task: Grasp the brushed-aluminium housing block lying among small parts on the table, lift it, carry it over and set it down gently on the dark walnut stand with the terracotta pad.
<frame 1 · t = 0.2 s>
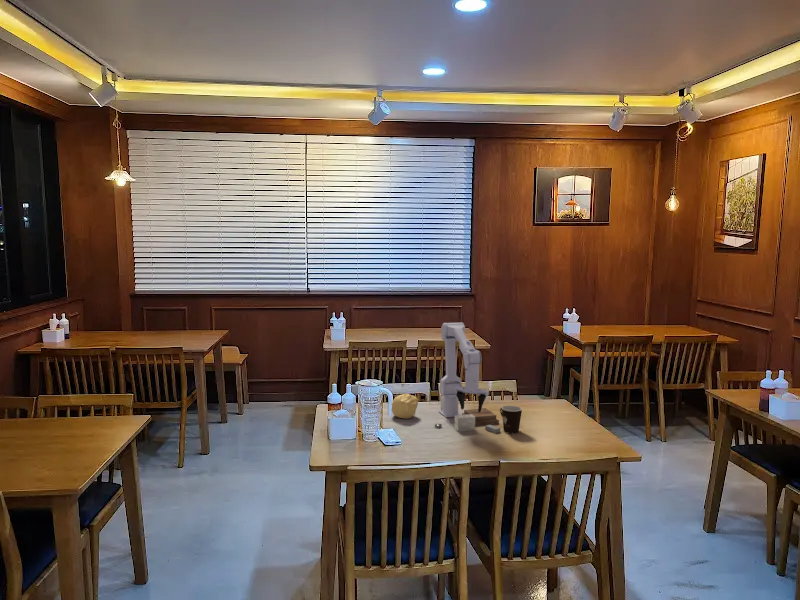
hand: (471, 410, 239), 10 cm above the table, tool pointing down, fingers open, 7 cm apart
grey offcut: (492, 431, 242), on the table
tan rounded lump: (404, 417, 260), on the table
stand: (479, 419, 256), on the table
steel nut: (438, 427, 246), on the table
coffee mug: (510, 430, 243), on the table
housing: (464, 429, 243), on the table
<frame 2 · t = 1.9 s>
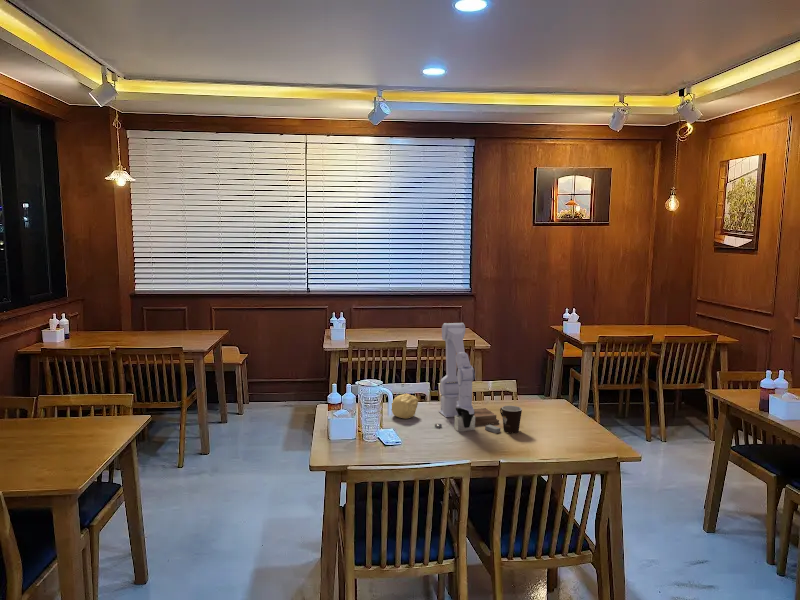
hand: (464, 425, 243), 2 cm above the table, tool pointing down, fingers closed on housing, 4 cm apart
housing: (464, 429, 243), on the table, touching gripper
everything else where it was.
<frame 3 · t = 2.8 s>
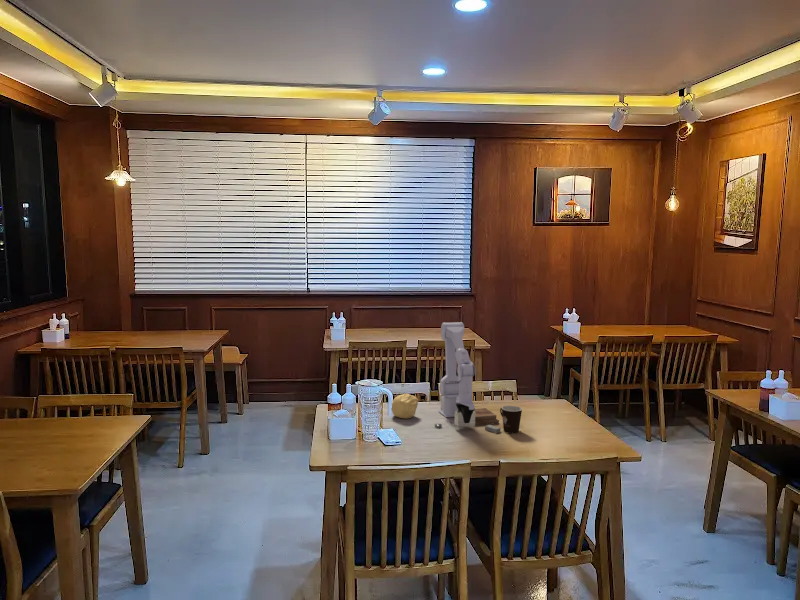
hand: (464, 421, 243), 4 cm above the table, tool pointing down, fingers closed on housing, 4 cm apart
housing: (464, 424, 243), point 2 cm above the table, touching gripper
everything else where it was.
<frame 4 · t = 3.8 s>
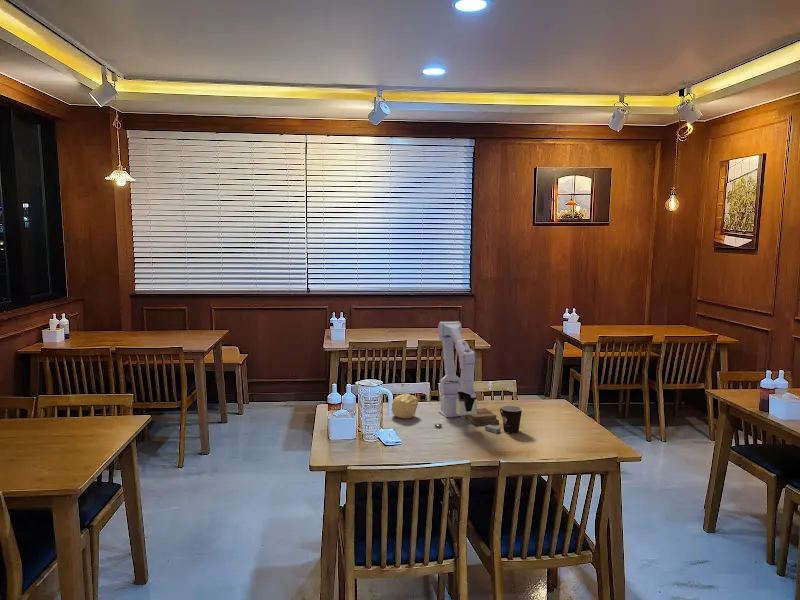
hand: (466, 409, 244), 8 cm above the table, tool pointing down, fingers closed on housing, 4 cm apart
housing: (466, 413, 244), point 7 cm above the table, touching gripper
everything else where it was.
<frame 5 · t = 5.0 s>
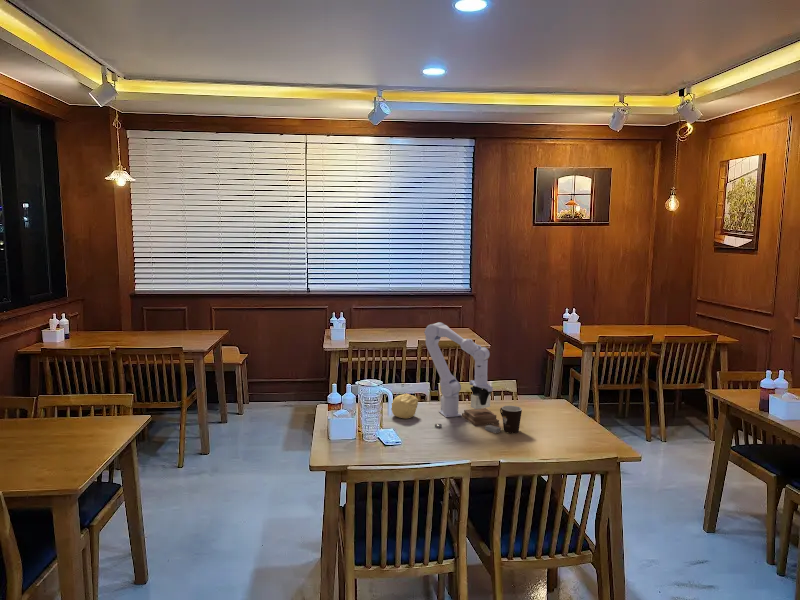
hand: (480, 403, 256), 8 cm above the table, tool pointing down, fingers closed on housing, 4 cm apart
housing: (480, 406, 256), point 6 cm above the table, touching gripper
everything else where it was.
when the fingers open (7 cm above the table, at t = 6.0 s): housing drops 1 cm, resting on stand.
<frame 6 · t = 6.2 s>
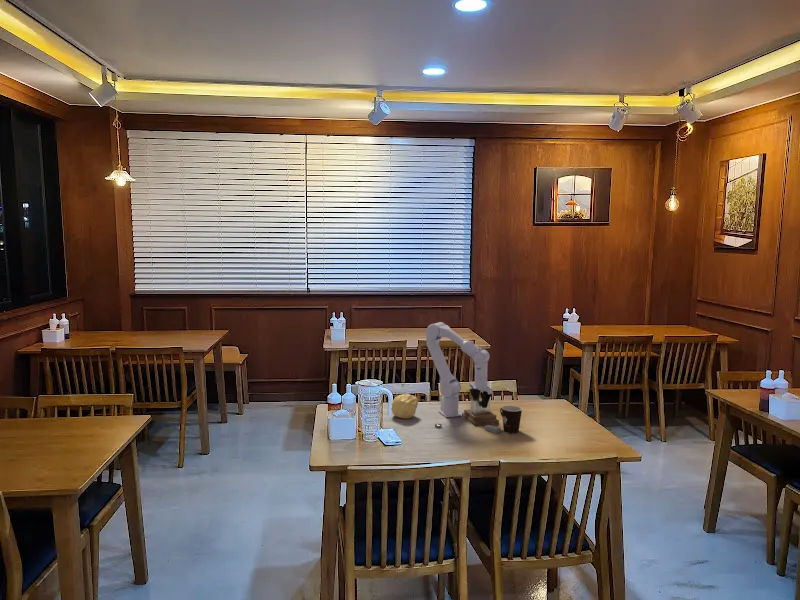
hand: (480, 405, 256), 7 cm above the table, tool pointing down, fingers open, 6 cm apart
housing: (480, 412, 256), point 3 cm above the table, touching stand
everything else where it was.
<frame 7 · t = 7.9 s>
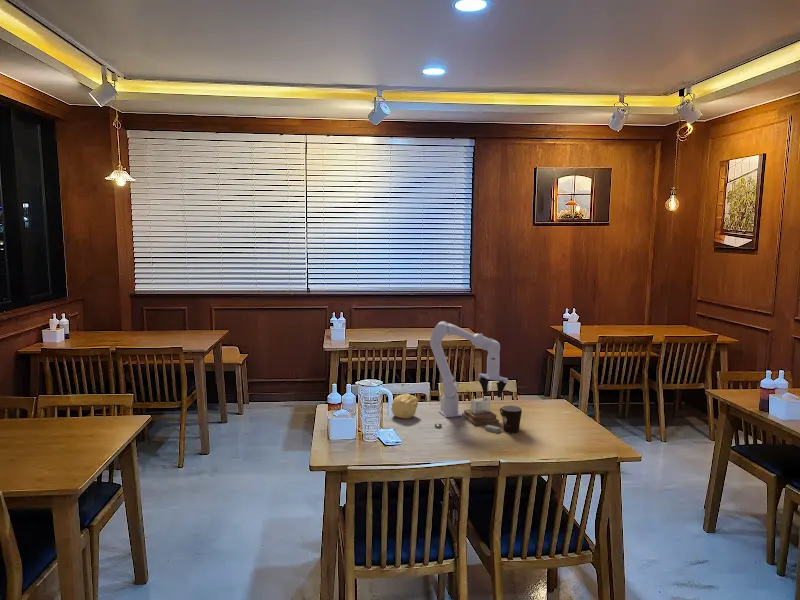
hand: (492, 395, 259), 10 cm above the table, tool pointing down, fingers open, 7 cm apart
nothing on the table moved.
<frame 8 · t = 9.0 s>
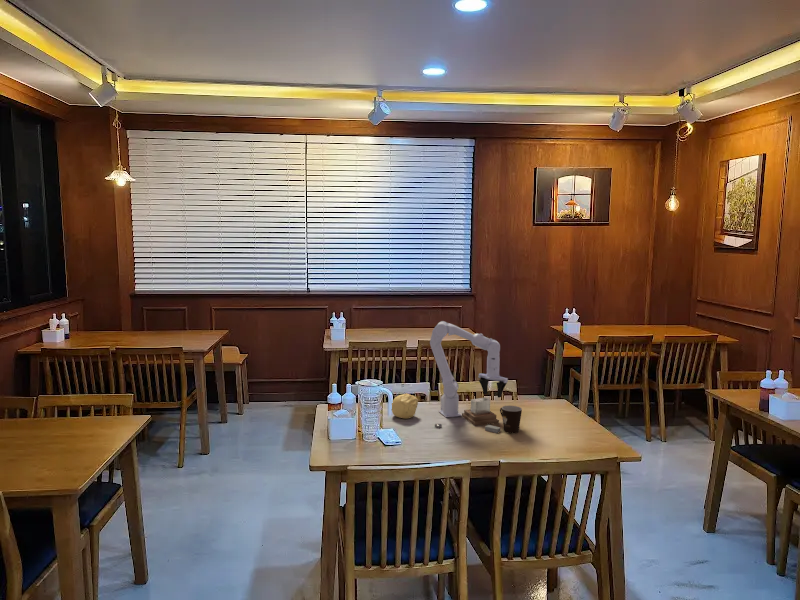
hand: (492, 395, 259), 10 cm above the table, tool pointing down, fingers open, 7 cm apart
nothing on the table moved.
at the end: housing inside the target area on the stand (0.1 cm from its centre), point 3.5 cm above the stand's base; housing tilted 0°; the gripper is holding nothing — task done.
